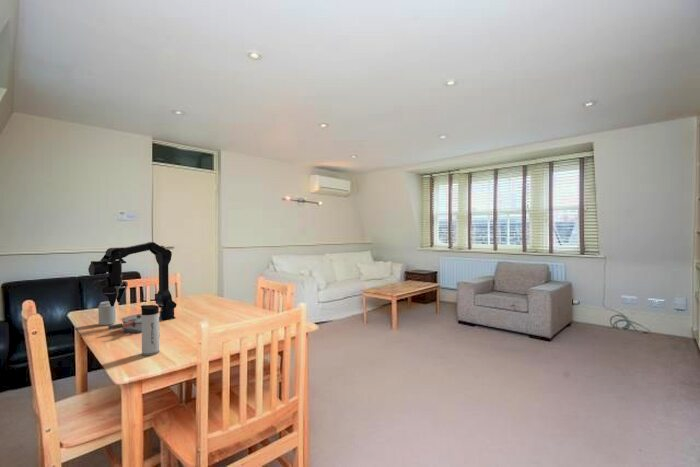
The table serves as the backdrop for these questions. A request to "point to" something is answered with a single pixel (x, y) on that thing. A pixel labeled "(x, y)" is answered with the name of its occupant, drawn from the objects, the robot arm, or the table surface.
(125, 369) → the table surface
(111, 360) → the table surface
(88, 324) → the table surface
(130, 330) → the pot
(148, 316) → the travel mug
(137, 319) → the lid
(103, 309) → the can
